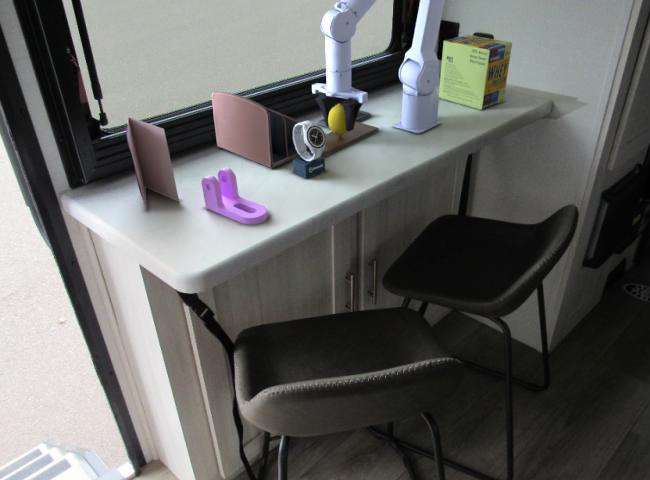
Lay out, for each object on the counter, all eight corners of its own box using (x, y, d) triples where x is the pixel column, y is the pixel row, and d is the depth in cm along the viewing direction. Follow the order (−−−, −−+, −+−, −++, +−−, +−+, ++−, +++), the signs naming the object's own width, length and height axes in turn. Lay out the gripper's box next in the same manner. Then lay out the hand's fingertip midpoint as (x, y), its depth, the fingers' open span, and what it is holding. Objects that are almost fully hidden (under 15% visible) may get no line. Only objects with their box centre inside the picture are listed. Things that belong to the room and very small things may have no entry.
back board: (356, 125, 147) (356, 121, 147) (378, 131, 143) (378, 127, 143) (302, 148, 136) (301, 144, 135) (325, 156, 132) (324, 152, 131)
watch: (311, 181, 121) (309, 131, 114) (288, 170, 126) (284, 121, 119) (331, 173, 124) (330, 124, 117) (307, 163, 129) (305, 114, 122)
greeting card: (141, 187, 121) (123, 117, 112) (176, 182, 122) (162, 112, 113) (141, 211, 112) (122, 137, 103) (179, 206, 113) (164, 132, 104)
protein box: (482, 110, 154) (490, 49, 145) (437, 98, 163) (442, 40, 154) (504, 101, 159) (513, 42, 150) (460, 89, 169) (466, 33, 159)
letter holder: (271, 169, 126) (265, 105, 118) (216, 147, 137) (207, 87, 129) (303, 155, 132) (299, 94, 124) (248, 135, 143) (241, 77, 135)
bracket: (206, 208, 112) (200, 175, 108) (226, 197, 116) (221, 165, 112) (252, 227, 106) (248, 193, 102) (273, 215, 109) (269, 182, 105)
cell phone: (372, 116, 152) (372, 113, 152) (336, 130, 144) (336, 127, 144) (351, 110, 156) (351, 107, 156) (316, 124, 148) (316, 121, 148)
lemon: (349, 141, 136) (348, 107, 131) (326, 140, 137) (325, 106, 132) (353, 133, 140) (352, 100, 135) (331, 131, 141) (330, 99, 136)
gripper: (302, 68, 130) (306, 126, 138) (355, 78, 123) (355, 138, 131) (321, 61, 134) (323, 118, 143) (372, 70, 128) (371, 129, 136)
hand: (339, 127), depth 137 cm, fingers closed on lemon, 5 cm apart
